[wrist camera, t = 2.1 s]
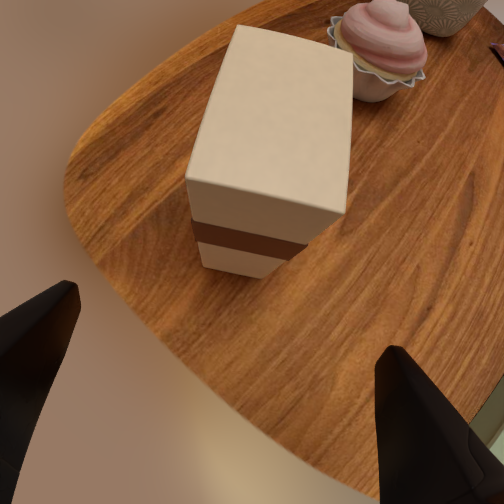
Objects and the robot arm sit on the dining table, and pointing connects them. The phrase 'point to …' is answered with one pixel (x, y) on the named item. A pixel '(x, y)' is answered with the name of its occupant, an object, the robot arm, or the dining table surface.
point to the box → (492, 422)
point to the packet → (270, 151)
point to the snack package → (499, 49)
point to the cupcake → (380, 48)
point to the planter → (442, 14)
